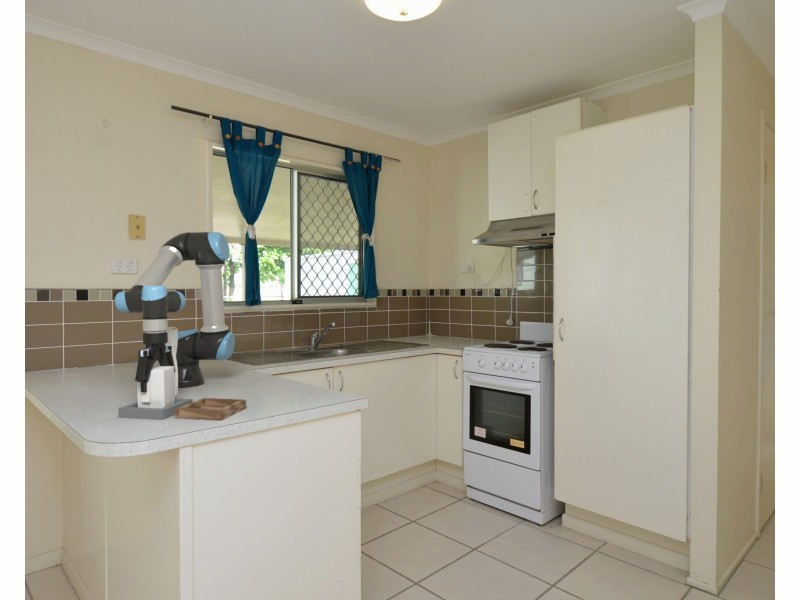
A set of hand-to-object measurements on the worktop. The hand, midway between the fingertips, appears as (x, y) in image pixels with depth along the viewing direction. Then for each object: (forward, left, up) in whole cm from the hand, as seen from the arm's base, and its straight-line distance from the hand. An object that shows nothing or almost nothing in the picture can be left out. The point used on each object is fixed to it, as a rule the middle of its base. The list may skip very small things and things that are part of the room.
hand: (156, 398), depth 170 cm
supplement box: (0, 0, -5) cm, 5 cm away
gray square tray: (0, 0, -5) cm, 5 cm away
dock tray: (-2, +19, -5) cm, 20 cm away
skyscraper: (-24, -13, -5) cm, 28 cm away
